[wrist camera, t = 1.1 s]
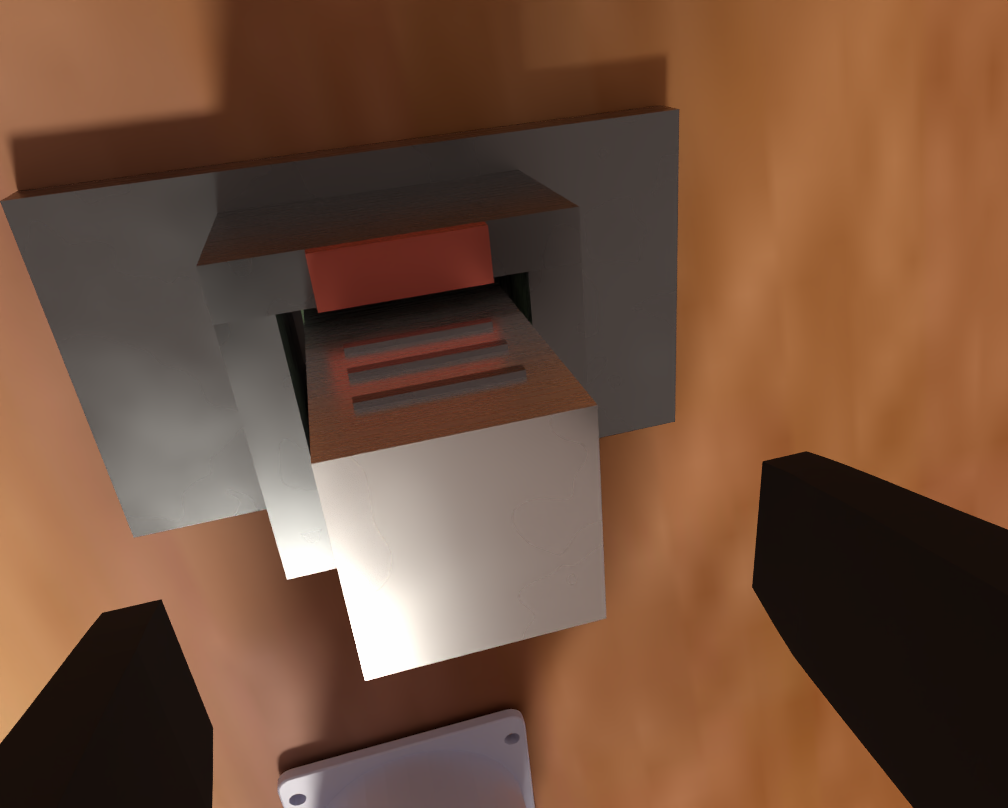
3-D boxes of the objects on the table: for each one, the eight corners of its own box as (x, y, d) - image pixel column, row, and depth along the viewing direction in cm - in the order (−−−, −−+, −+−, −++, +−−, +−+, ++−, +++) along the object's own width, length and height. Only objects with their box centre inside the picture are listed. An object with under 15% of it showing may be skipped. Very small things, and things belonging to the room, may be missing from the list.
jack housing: (659, 405, 21) (760, 508, 17) (141, 514, 19) (93, 669, 14) (659, 105, 18) (789, 131, 13) (16, 191, 15) (-102, 260, 11)
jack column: (487, 391, 19) (612, 621, 11) (331, 422, 18) (359, 687, 11) (469, 239, 17) (605, 396, 10) (295, 266, 16) (300, 458, 9)
